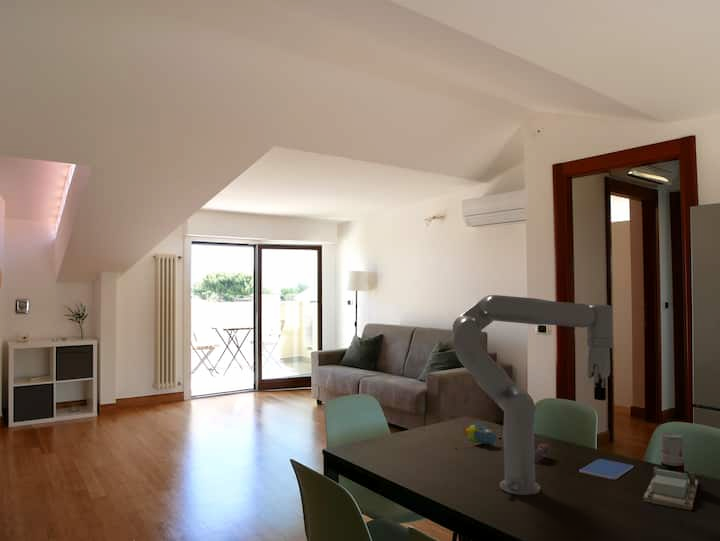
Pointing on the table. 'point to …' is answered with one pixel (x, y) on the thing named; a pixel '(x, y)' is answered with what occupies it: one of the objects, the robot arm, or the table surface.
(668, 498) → the base board
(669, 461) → the beverage can
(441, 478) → the table surface
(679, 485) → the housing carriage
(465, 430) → the owl figurine
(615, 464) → the tablet computer
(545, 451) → the video game controller
